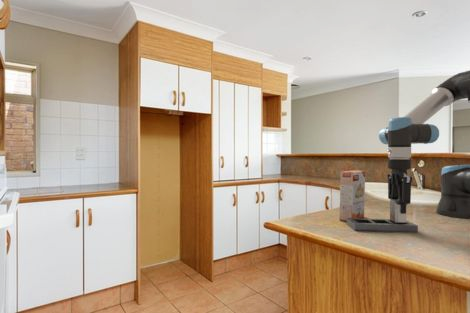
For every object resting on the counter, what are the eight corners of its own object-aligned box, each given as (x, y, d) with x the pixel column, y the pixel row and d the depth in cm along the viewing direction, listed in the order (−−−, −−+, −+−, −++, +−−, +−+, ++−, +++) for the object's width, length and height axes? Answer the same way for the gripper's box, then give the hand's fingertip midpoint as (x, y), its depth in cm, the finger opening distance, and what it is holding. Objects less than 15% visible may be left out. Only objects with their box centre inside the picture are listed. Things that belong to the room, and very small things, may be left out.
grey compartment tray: (404, 225, 107) (404, 219, 107) (417, 232, 98) (417, 225, 98) (346, 224, 108) (346, 218, 108) (354, 230, 100) (354, 223, 99)
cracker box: (353, 223, 111) (353, 172, 110) (338, 220, 115) (339, 171, 115) (365, 217, 121) (365, 170, 120) (351, 215, 125) (352, 169, 125)
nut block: (400, 220, 104) (401, 199, 104) (406, 222, 100) (406, 201, 100) (389, 219, 105) (390, 199, 105) (395, 222, 101) (395, 200, 101)
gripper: (378, 158, 111) (378, 214, 111) (400, 159, 94) (399, 226, 94) (398, 158, 110) (397, 215, 111) (423, 159, 93) (422, 226, 94)
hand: (398, 220), depth 102 cm, fingers closed on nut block, 4 cm apart
